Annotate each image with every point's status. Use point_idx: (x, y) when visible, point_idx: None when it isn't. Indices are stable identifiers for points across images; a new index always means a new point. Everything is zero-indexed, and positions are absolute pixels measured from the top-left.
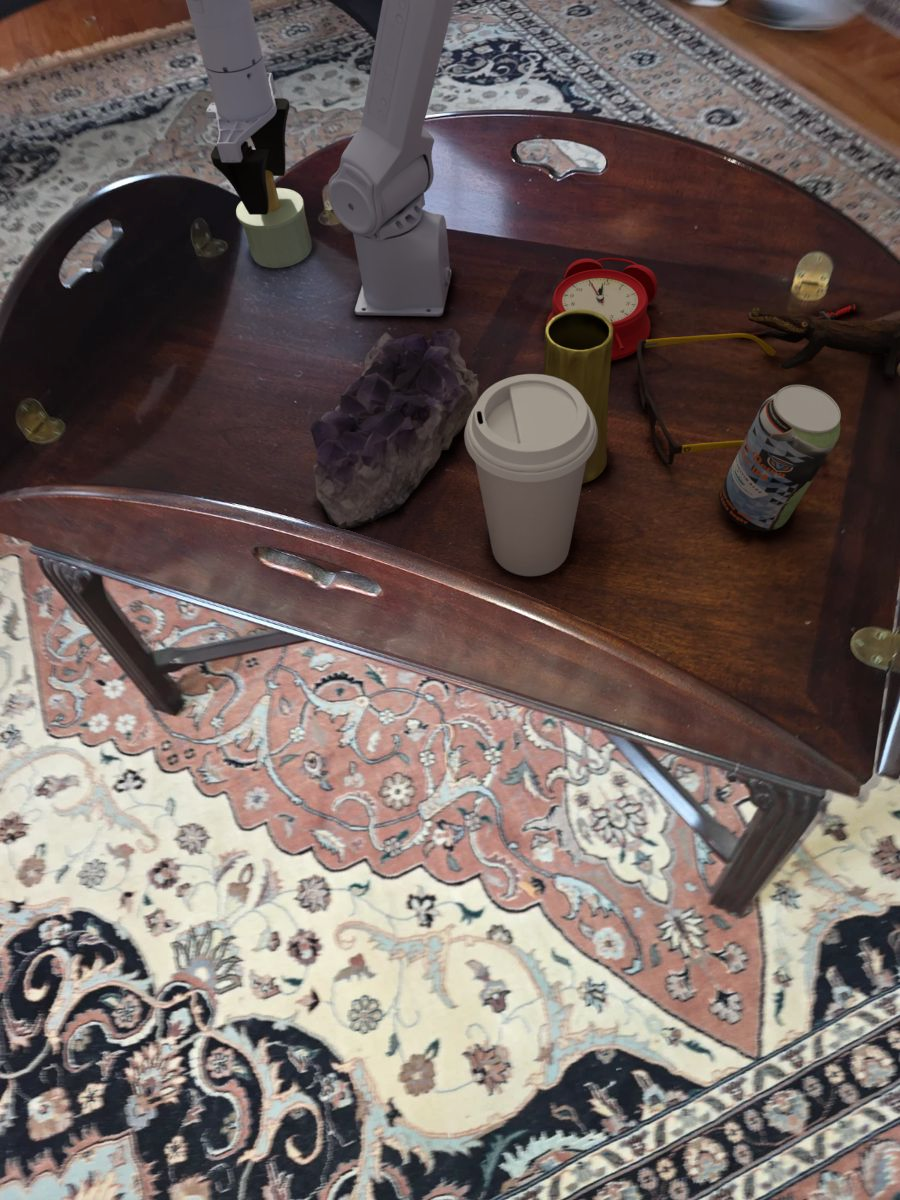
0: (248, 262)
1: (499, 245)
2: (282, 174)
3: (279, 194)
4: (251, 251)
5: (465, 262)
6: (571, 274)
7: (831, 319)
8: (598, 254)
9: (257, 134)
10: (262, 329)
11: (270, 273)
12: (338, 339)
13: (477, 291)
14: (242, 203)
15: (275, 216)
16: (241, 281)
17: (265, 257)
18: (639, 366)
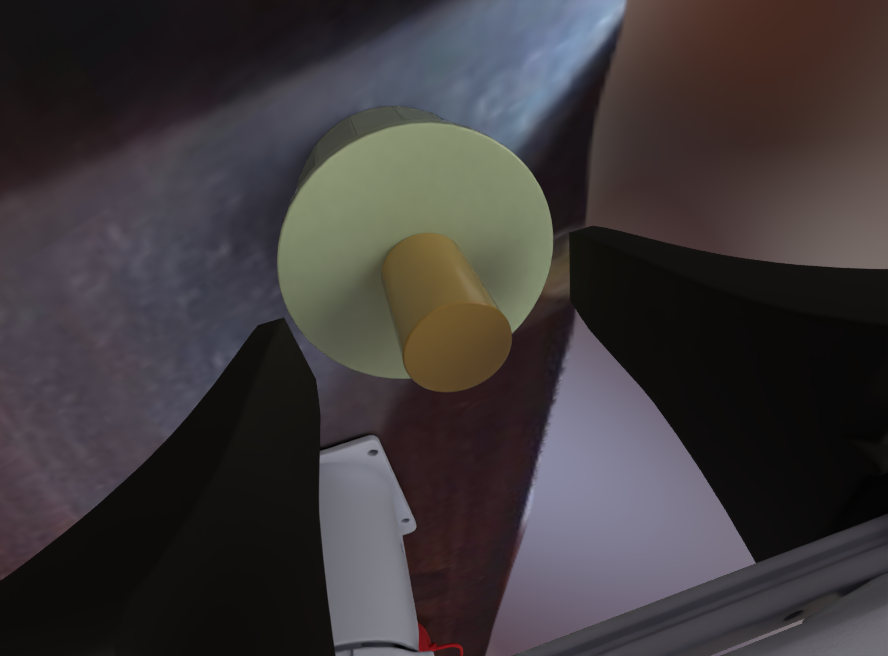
0: (298, 128)
1: (500, 529)
2: (572, 300)
3: (509, 265)
4: (311, 157)
5: (449, 520)
6: (422, 641)
7: None
8: (497, 598)
9: (713, 340)
10: (28, 349)
11: (276, 234)
12: None
13: None
14: (419, 142)
15: (367, 328)
16: (188, 162)
17: None
18: None
